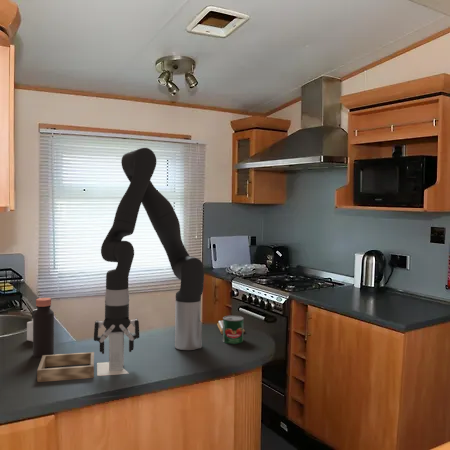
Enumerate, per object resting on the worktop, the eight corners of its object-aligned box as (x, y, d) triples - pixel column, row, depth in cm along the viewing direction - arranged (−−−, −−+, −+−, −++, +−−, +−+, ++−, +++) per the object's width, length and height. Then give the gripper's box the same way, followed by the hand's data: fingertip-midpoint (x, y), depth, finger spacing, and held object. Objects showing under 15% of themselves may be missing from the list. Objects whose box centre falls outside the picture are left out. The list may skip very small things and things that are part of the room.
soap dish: (216, 331, 197) (216, 320, 196) (239, 331, 198) (239, 319, 198) (220, 340, 184) (220, 327, 184) (244, 339, 186) (244, 327, 185)
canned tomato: (236, 342, 181) (236, 314, 181) (247, 347, 175) (247, 318, 174) (218, 345, 177) (219, 316, 177) (229, 350, 170) (229, 321, 170)
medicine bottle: (54, 339, 181) (54, 308, 180) (38, 343, 175) (38, 312, 174) (42, 336, 184) (42, 306, 184) (26, 340, 178) (26, 309, 178)
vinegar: (54, 352, 164) (55, 296, 164) (52, 358, 158) (52, 300, 157) (34, 353, 163) (34, 297, 162) (31, 359, 156) (31, 301, 155)
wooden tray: (93, 363, 153) (94, 352, 153) (93, 379, 140) (93, 366, 140) (42, 367, 149) (42, 355, 149) (37, 383, 136) (37, 370, 135)
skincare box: (110, 364, 151) (111, 328, 151) (124, 364, 152) (124, 328, 151) (108, 371, 145) (109, 333, 145) (122, 370, 146) (122, 333, 145)
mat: (133, 362, 156) (133, 360, 156) (136, 374, 144) (136, 372, 144) (97, 364, 153) (97, 362, 153) (97, 377, 141) (97, 375, 141)
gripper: (138, 299, 153) (137, 347, 154) (94, 300, 149) (93, 350, 150) (140, 303, 146) (140, 354, 147) (93, 305, 142) (93, 357, 143)
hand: (116, 352), depth 148 cm, fingers open, 8 cm apart
